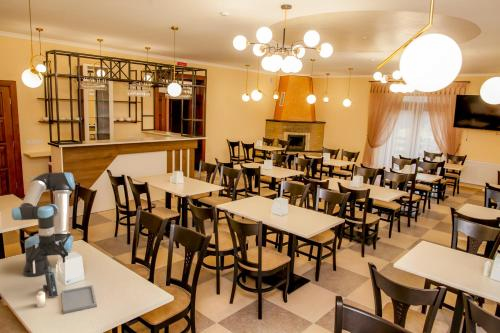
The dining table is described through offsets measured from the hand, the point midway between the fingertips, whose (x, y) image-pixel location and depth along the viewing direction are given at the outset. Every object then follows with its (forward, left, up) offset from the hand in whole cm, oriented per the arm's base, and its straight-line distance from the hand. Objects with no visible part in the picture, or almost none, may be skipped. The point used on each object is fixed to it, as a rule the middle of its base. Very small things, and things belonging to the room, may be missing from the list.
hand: (48, 270), depth 196 cm
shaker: (+12, -4, -15) cm, 19 cm away
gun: (0, 0, -15) cm, 15 cm away
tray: (+14, +14, -15) cm, 24 cm away
